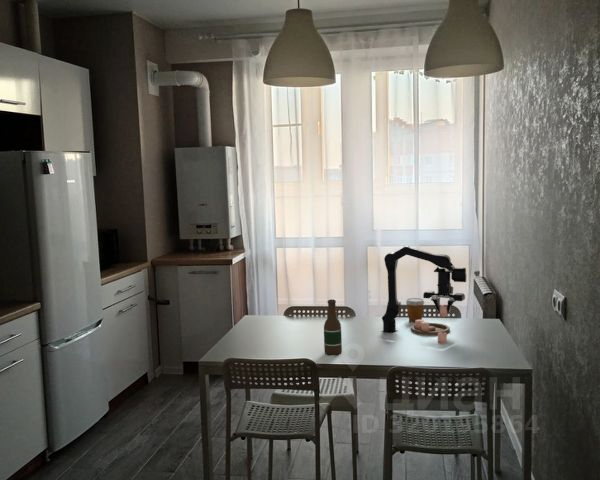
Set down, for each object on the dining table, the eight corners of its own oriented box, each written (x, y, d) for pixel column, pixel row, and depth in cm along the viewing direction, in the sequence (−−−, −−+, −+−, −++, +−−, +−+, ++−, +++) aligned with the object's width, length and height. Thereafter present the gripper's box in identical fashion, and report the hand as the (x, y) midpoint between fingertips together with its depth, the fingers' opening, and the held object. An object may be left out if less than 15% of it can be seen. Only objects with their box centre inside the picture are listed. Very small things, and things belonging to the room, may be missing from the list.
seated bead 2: (426, 334, 291) (426, 324, 290) (419, 333, 293) (419, 322, 293) (430, 332, 294) (430, 322, 293) (423, 331, 296) (423, 321, 296)
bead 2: (444, 345, 273) (444, 334, 272) (436, 344, 276) (436, 333, 275) (448, 343, 276) (448, 332, 275) (440, 342, 279) (440, 331, 278)
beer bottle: (331, 349, 272) (329, 297, 270) (345, 352, 267) (344, 299, 265) (320, 354, 266) (319, 300, 264) (335, 357, 261) (333, 302, 259)
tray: (438, 338, 285) (438, 334, 284) (404, 333, 297) (404, 328, 296) (456, 330, 298) (456, 326, 298) (423, 325, 310) (423, 321, 310)
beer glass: (402, 321, 320) (402, 299, 319) (417, 319, 324) (417, 297, 323) (413, 325, 311) (412, 302, 310) (428, 322, 315) (428, 300, 314)
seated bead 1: (421, 332, 295) (420, 321, 295) (413, 330, 298) (413, 320, 297) (425, 330, 298) (425, 320, 298) (418, 329, 301) (417, 319, 300)
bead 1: (446, 316, 287) (446, 306, 286) (438, 316, 289) (438, 305, 288) (449, 315, 290) (449, 304, 290) (440, 314, 292) (441, 304, 292)
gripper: (468, 280, 290) (467, 311, 292) (430, 277, 299) (430, 308, 301) (461, 283, 280) (461, 316, 282) (423, 281, 290) (422, 312, 291)
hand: (443, 313), depth 289 cm, fingers closed on bead 1, 4 cm apart
